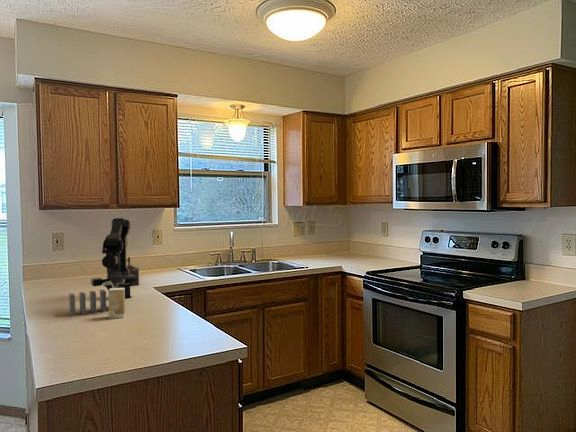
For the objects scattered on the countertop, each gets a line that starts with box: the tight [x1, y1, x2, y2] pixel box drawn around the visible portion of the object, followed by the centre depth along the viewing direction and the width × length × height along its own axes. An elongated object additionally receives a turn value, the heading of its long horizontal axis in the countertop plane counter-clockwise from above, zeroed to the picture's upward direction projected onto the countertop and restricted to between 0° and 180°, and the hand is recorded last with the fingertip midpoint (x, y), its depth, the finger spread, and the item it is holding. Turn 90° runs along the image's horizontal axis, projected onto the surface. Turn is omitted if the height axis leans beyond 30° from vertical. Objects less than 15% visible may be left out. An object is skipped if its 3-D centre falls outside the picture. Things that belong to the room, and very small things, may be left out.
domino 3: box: [89, 290, 97, 314], centre depth 199 cm, size 2×5×9 cm, turn 34°
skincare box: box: [108, 288, 126, 319], centre depth 189 cm, size 6×4×12 cm
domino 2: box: [78, 291, 87, 315], centre depth 197 cm, size 2×5×9 cm, turn 34°
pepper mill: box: [127, 256, 140, 287], centre depth 263 cm, size 16×11×18 cm
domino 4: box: [99, 289, 107, 313], centre depth 201 cm, size 2×5×9 cm, turn 34°
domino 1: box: [68, 292, 76, 317], centre depth 194 cm, size 2×5×9 cm, turn 34°
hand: (114, 298), depth 204 cm, fingers closed
